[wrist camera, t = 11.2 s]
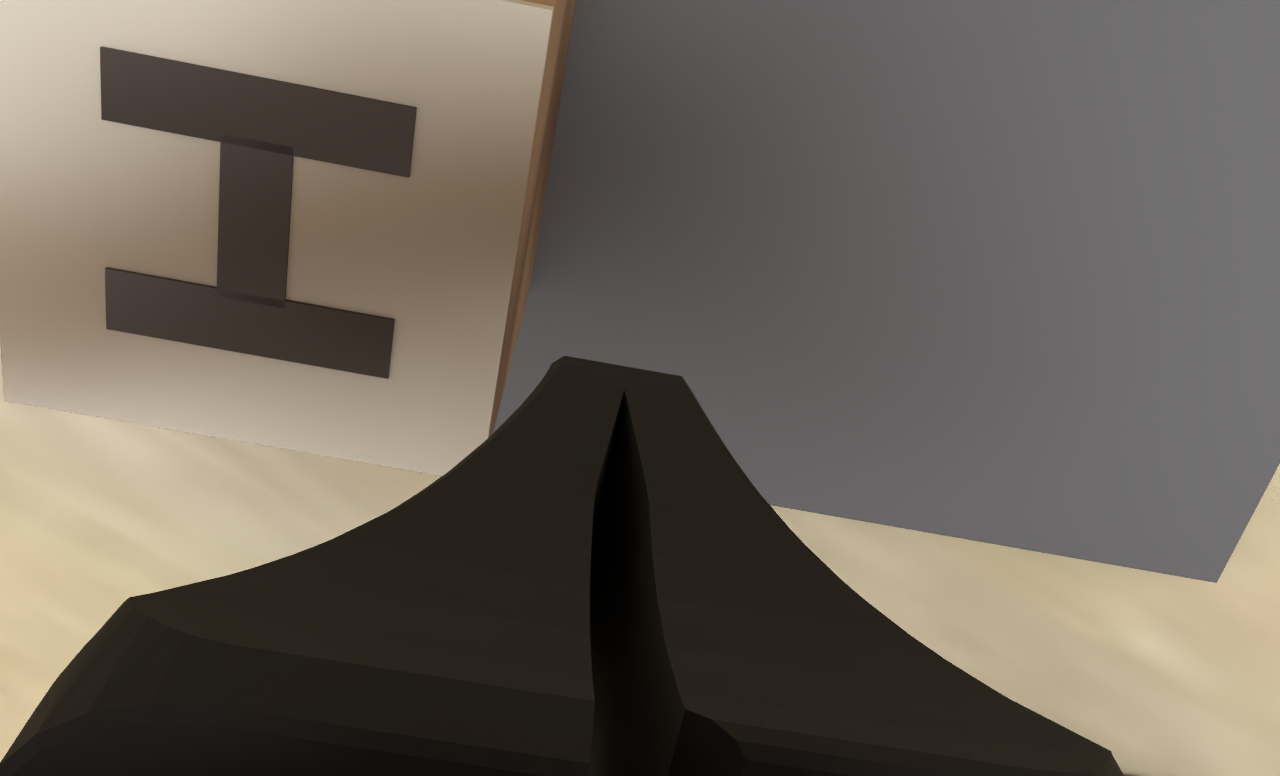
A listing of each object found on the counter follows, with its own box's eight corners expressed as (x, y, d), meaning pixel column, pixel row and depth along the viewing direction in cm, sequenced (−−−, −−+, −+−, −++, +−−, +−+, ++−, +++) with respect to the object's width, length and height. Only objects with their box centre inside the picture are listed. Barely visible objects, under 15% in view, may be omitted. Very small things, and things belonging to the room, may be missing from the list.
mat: (1210, 573, 24) (1217, 582, 23) (32, 367, 22) (24, 374, 22) (1572, -122, 18) (1586, -120, 17) (-13, -478, 16) (-25, -482, 16)
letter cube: (2, 403, 15) (182, 225, 20) (480, 484, 15) (529, 289, 21) (-34, -106, 12) (186, -152, 18) (553, 11, 12) (587, -69, 18)
